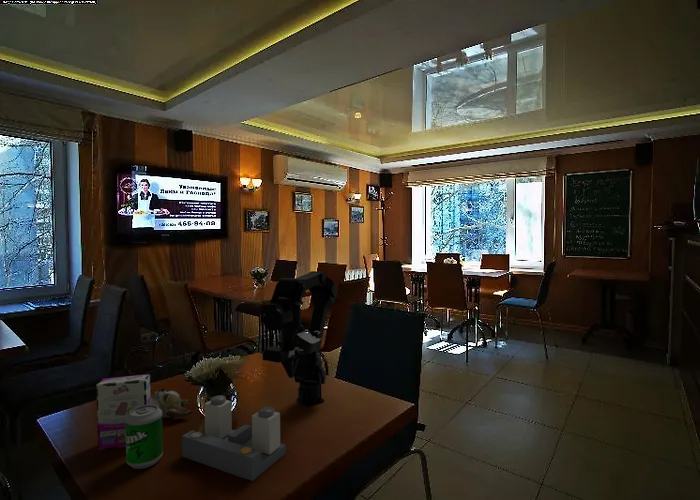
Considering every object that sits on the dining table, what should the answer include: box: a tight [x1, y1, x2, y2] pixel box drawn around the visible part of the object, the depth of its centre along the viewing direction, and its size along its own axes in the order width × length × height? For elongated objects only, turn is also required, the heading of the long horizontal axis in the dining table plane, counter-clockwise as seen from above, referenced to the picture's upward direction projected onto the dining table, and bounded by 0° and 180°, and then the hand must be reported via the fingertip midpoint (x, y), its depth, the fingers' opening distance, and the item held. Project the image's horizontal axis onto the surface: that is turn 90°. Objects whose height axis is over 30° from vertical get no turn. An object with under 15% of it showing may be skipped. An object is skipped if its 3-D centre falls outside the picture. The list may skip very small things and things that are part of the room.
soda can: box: [125, 405, 164, 470], centre depth 91 cm, size 8×8×12 cm
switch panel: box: [181, 424, 287, 482], centre depth 93 cm, size 12×21×5 cm, turn 64°
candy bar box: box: [95, 373, 152, 452], centre depth 99 cm, size 11×5×16 cm, turn 105°
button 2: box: [251, 406, 281, 455], centre depth 92 cm, size 4×5×9 cm
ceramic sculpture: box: [151, 387, 194, 419], centre depth 113 cm, size 11×9×15 cm
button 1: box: [204, 395, 233, 439], centre depth 99 cm, size 4×5×9 cm
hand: (291, 377), depth 111 cm, fingers closed
